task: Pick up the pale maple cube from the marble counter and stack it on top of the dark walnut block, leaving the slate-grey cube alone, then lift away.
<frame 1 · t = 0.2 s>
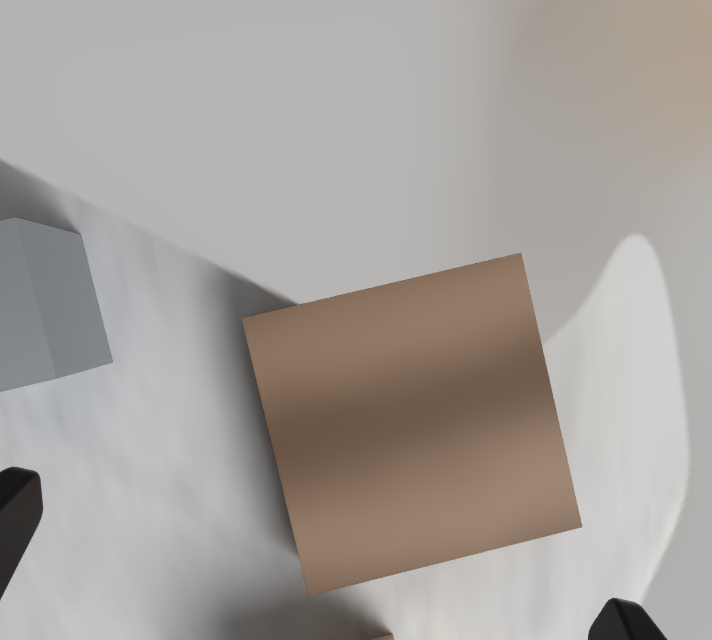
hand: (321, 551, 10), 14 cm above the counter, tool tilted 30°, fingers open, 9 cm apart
walnut block: (404, 409, 25), on the counter
slate cube: (33, 313, 24), on the counter
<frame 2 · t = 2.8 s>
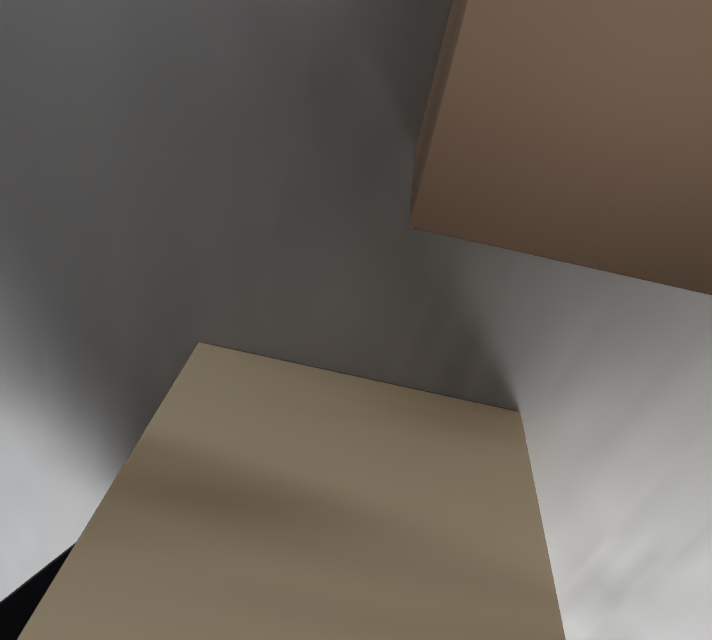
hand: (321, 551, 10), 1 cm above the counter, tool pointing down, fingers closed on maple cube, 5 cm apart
maple cube: (332, 492, 11), on the counter, touching gripper
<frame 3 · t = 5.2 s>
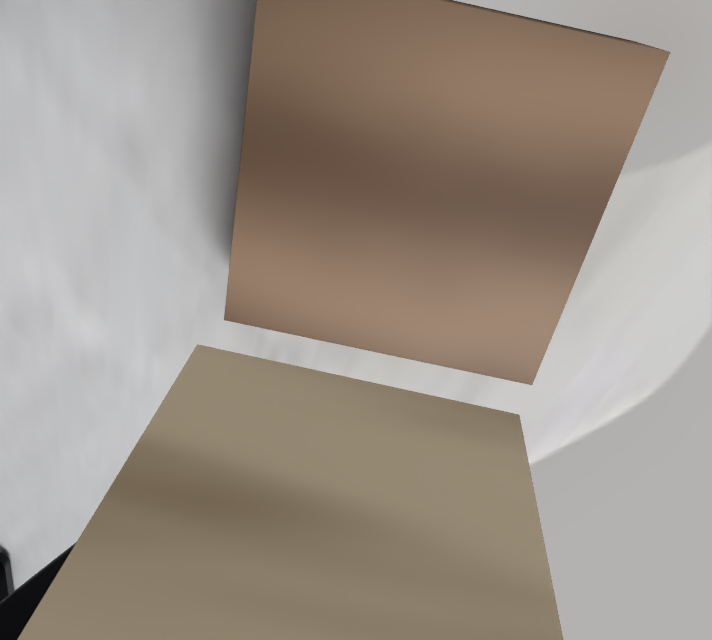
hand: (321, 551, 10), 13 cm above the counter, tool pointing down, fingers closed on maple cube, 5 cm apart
maple cube: (331, 494, 11), point 11 cm above the counter, touching gripper
walnut block: (416, 174, 20), on the counter
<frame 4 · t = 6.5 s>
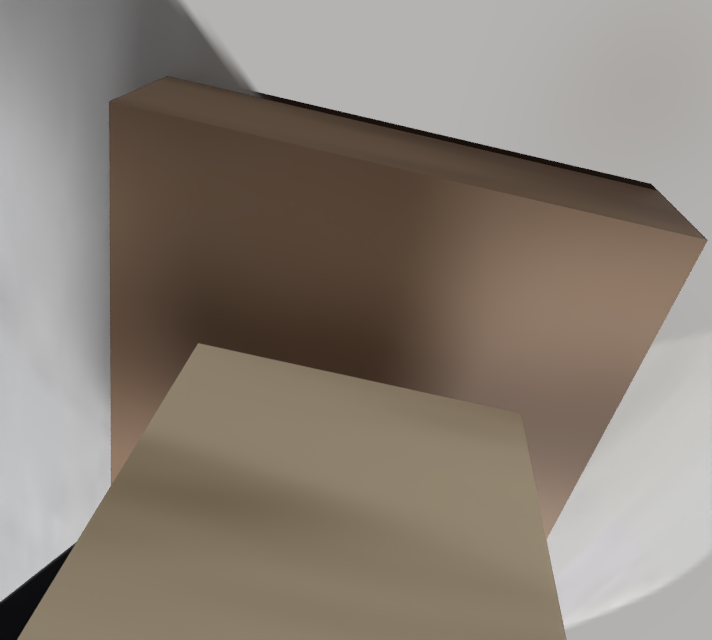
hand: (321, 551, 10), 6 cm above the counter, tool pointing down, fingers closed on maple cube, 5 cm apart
maple cube: (332, 493, 11), point 5 cm above the counter, touching gripper
walnut block: (364, 331, 15), on the counter
when the fingers open (5 cm above the counter, at t = 7.5 s): maple cube drops 1 cm, point 2 cm above the counter.
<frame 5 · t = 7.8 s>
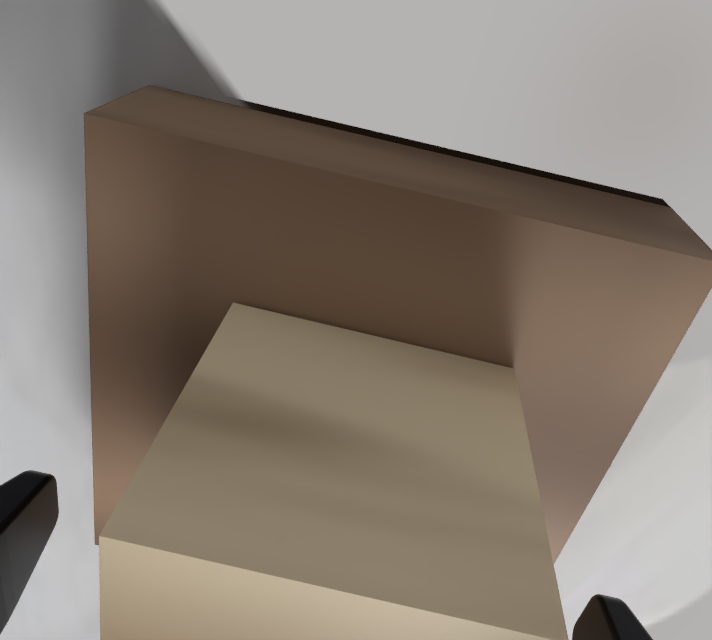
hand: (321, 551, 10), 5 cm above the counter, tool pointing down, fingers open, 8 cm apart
maple cube: (345, 441, 12), point 2 cm above the counter
walnut block: (359, 349, 15), on the counter
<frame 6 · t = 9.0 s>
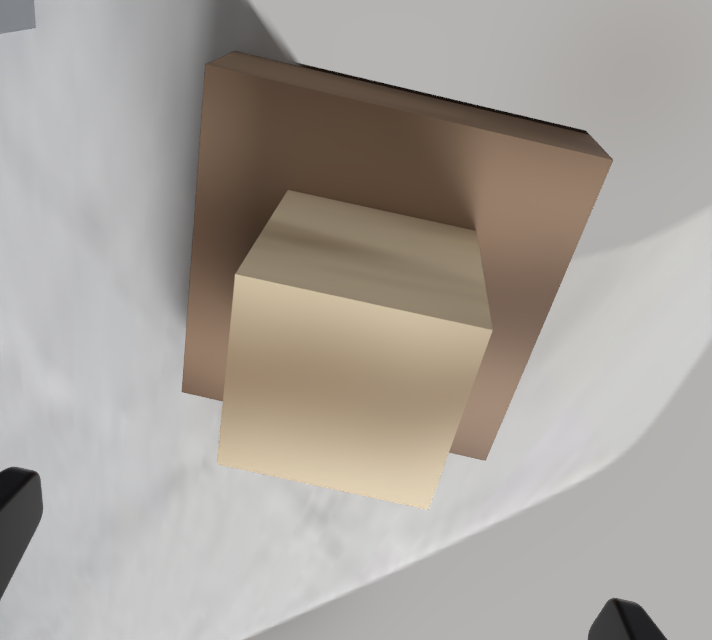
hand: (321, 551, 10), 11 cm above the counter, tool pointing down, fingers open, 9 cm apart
maple cube: (363, 293, 17), point 2 cm above the counter
walnut block: (374, 249, 20), on the counter
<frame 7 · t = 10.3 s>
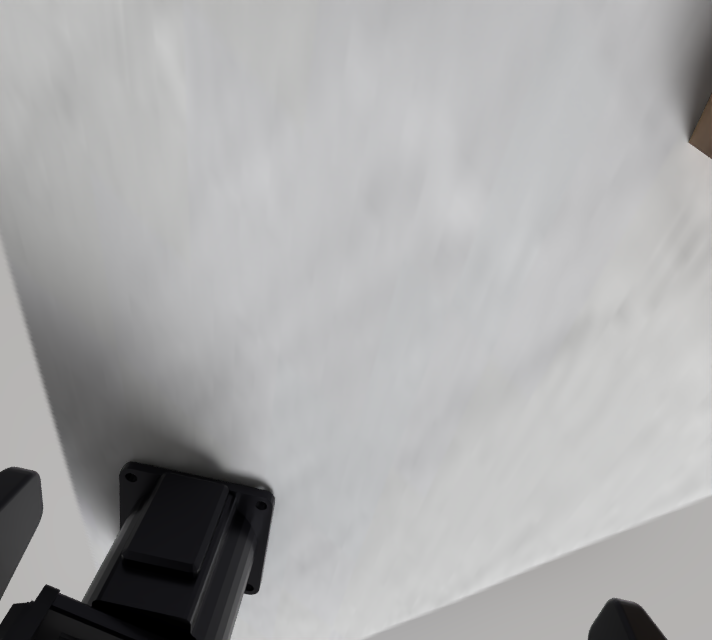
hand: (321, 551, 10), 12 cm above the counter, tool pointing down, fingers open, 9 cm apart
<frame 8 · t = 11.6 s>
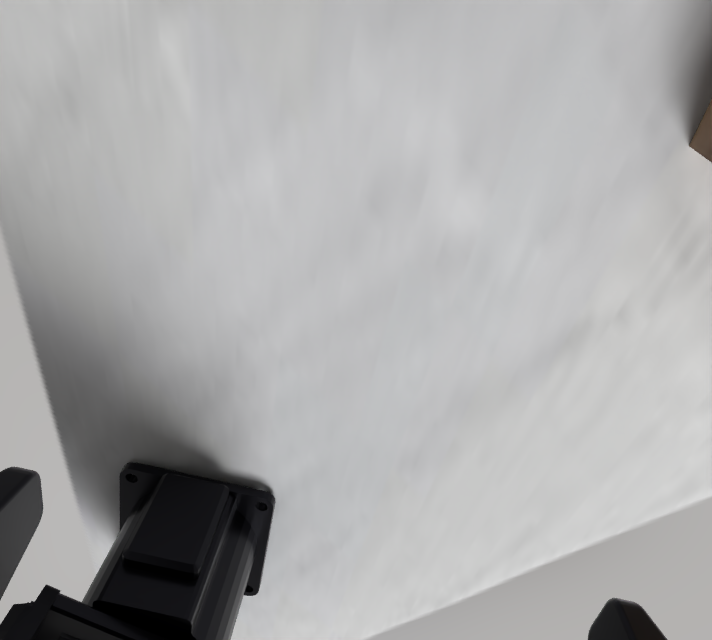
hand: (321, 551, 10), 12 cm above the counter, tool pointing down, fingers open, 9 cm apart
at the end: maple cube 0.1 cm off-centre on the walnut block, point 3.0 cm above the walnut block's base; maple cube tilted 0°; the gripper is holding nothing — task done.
